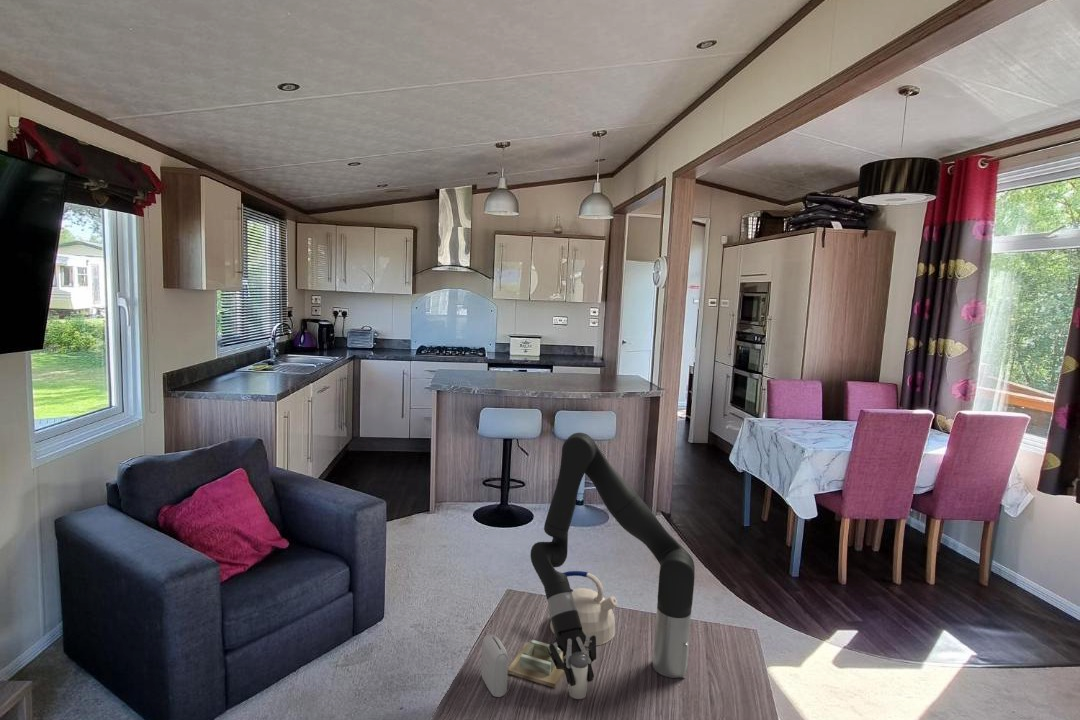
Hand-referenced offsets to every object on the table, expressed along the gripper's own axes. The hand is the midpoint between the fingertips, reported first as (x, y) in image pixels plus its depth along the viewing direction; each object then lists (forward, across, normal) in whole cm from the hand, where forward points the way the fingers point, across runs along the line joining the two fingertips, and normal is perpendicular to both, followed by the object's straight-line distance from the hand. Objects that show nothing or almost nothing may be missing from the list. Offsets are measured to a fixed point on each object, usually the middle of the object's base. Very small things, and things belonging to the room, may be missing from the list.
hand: (581, 682), depth 148 cm
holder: (-8, -4, +14) cm, 17 cm away
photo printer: (-6, -19, +12) cm, 23 cm away
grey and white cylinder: (+2, 0, +4) cm, 5 cm away
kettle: (-17, +16, +24) cm, 34 cm away
